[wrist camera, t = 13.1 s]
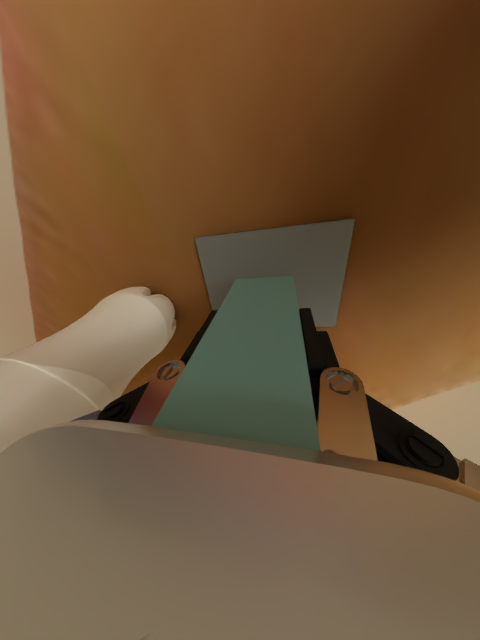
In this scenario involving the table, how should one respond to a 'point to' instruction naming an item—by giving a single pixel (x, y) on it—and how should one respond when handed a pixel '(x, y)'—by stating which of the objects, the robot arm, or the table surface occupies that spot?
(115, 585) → the robot arm
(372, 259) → the table surface
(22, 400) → the water bottle
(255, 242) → the mat
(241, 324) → the stick
